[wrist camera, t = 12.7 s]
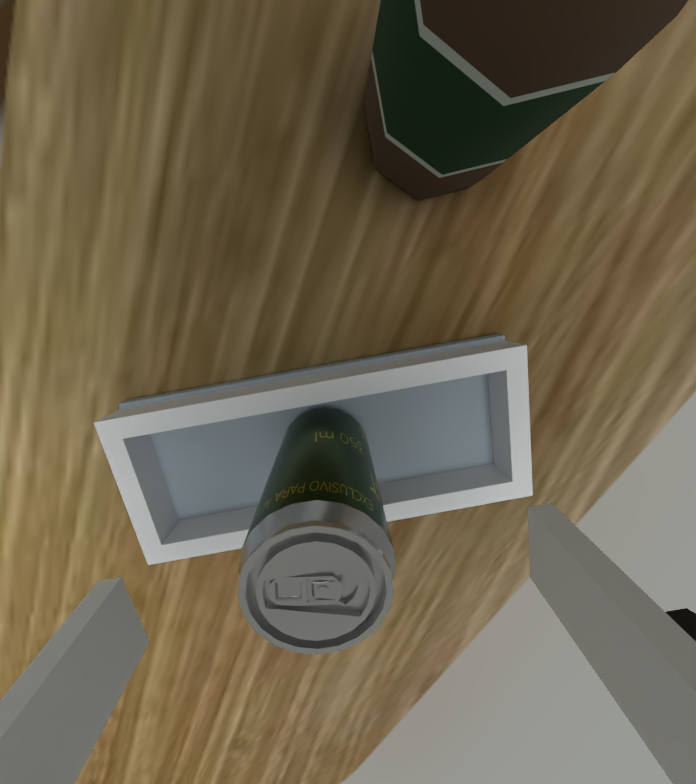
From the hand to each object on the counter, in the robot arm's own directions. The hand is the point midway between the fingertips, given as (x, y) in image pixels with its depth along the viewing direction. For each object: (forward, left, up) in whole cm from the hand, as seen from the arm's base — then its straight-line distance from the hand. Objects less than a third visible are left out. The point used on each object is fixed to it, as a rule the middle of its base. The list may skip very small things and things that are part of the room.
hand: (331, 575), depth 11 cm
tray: (0, 0, -13) cm, 13 cm away
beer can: (0, 0, -12) cm, 12 cm away
